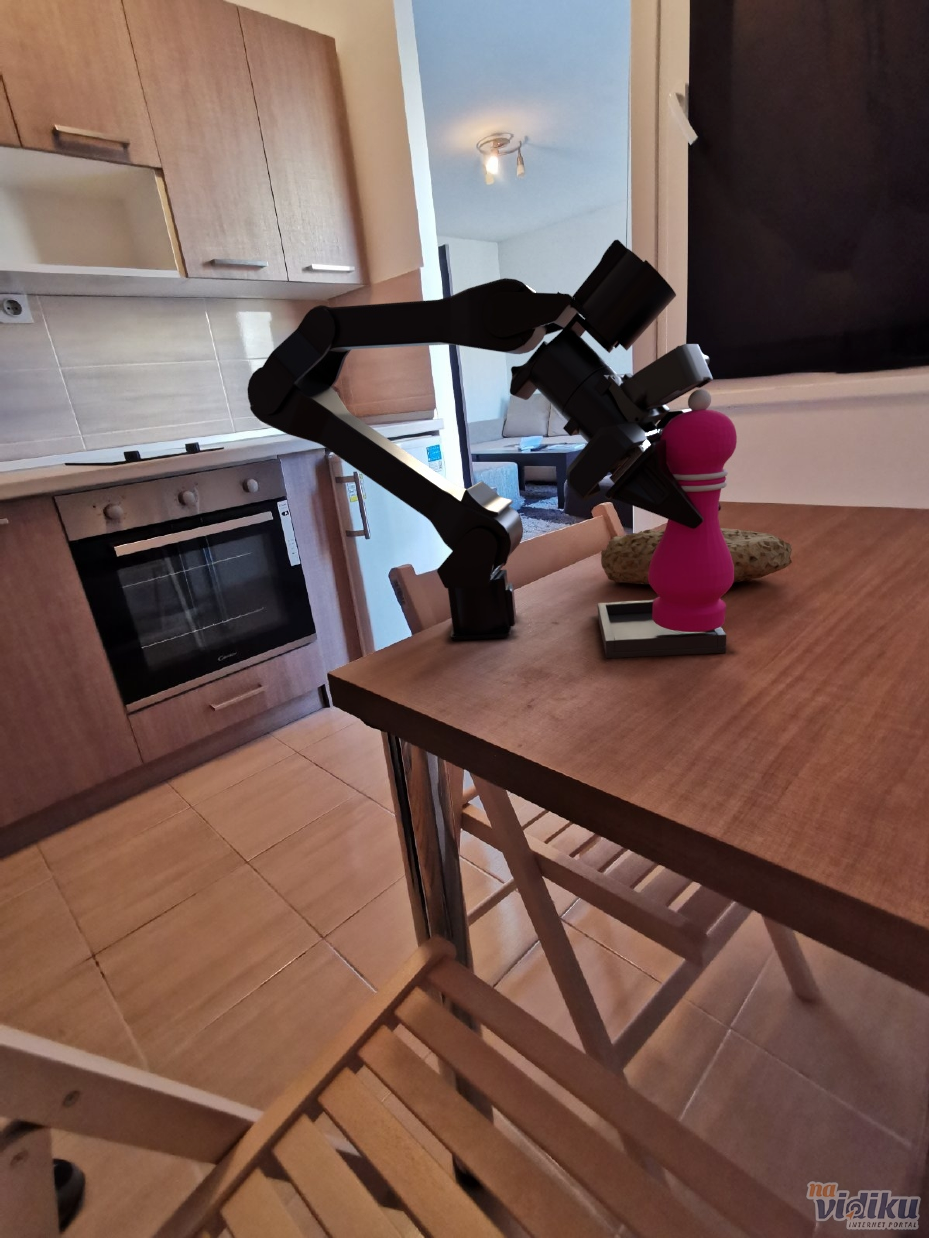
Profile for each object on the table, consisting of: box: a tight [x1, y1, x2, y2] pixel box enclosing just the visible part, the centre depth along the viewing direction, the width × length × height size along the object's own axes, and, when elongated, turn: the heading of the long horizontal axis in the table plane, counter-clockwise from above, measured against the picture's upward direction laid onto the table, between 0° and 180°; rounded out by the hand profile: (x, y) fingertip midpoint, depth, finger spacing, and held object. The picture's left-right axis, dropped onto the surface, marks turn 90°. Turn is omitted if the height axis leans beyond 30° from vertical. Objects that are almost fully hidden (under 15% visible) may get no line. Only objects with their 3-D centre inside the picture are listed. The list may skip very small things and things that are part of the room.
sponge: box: [600, 527, 793, 585], centre depth 71 cm, size 13×8×20 cm
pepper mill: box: [648, 388, 738, 632], centre depth 51 cm, size 7×7×20 cm
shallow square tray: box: [597, 599, 728, 659], centre depth 59 cm, size 11×11×2 cm
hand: (708, 518), depth 50 cm, fingers closed on pepper mill, 4 cm apart
